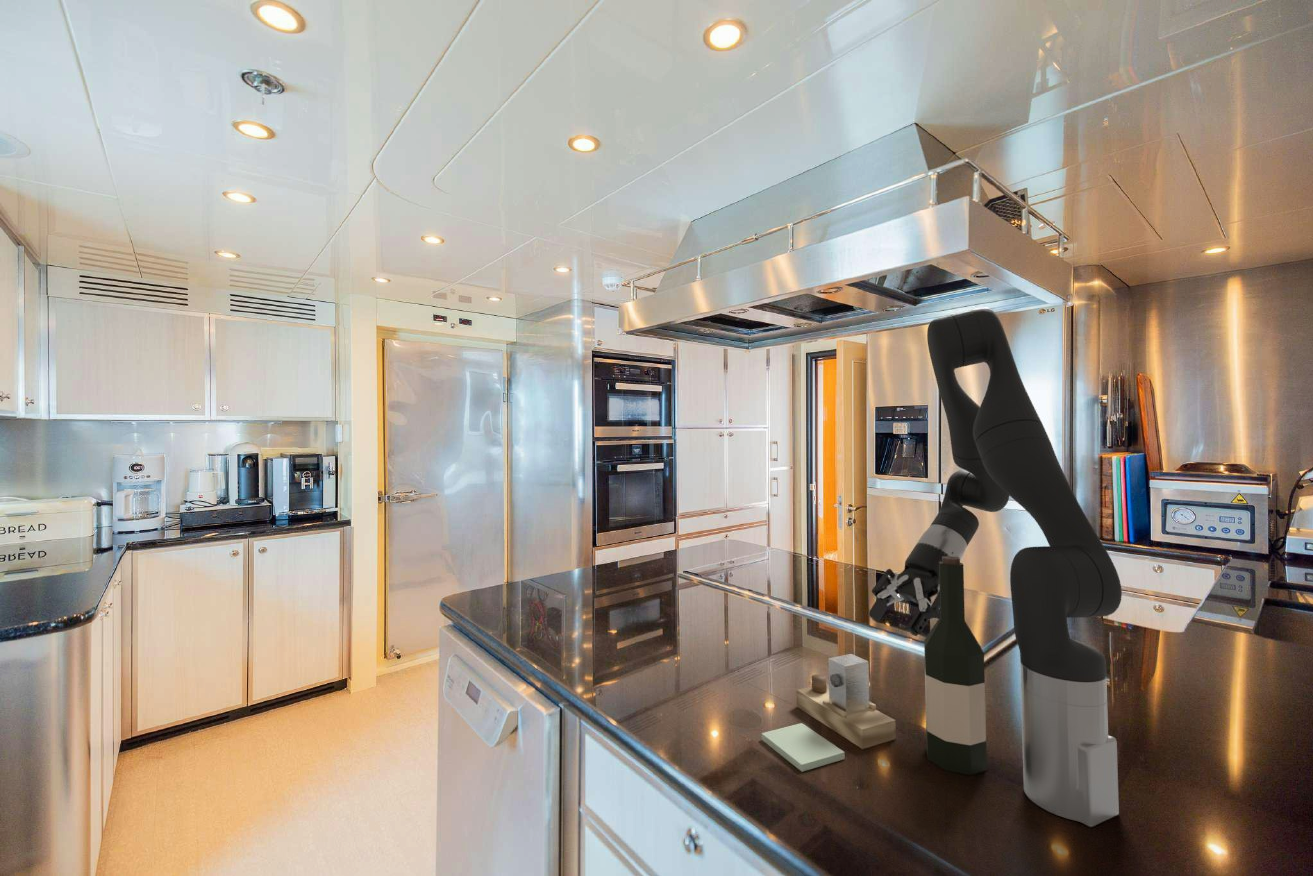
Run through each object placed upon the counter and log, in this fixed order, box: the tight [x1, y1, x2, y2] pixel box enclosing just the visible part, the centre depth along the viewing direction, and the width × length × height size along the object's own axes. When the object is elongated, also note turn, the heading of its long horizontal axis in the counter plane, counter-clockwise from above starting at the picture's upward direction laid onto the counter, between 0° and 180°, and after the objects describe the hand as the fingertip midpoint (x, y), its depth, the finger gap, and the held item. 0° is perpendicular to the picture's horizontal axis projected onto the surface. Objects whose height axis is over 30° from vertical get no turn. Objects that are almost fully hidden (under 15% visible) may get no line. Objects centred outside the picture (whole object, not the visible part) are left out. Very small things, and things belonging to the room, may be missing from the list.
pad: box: [761, 722, 846, 772], centre depth 87 cm, size 10×8×1 cm
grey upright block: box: [828, 653, 870, 715], centre depth 94 cm, size 4×6×8 cm
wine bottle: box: [923, 556, 988, 776], centre depth 84 cm, size 8×8×30 cm
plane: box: [796, 673, 897, 750], centre depth 95 cm, size 16×7×5 cm, turn 24°
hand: (891, 625), depth 98 cm, fingers open, 8 cm apart
